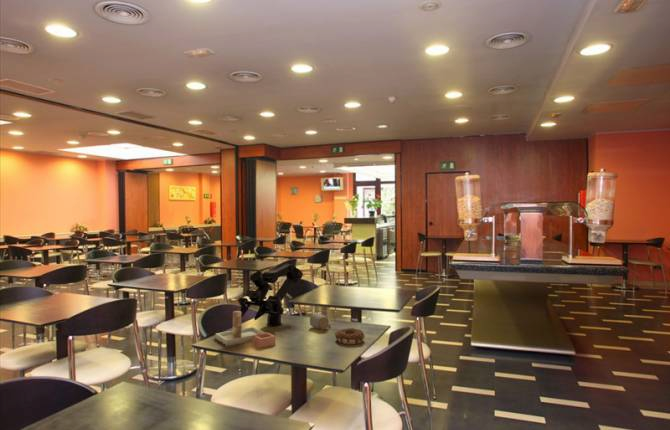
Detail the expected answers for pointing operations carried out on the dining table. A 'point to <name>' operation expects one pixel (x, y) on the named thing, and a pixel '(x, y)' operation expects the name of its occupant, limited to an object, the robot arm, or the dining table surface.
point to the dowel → (236, 324)
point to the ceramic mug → (319, 321)
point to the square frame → (264, 340)
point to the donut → (350, 336)
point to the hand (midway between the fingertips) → (247, 318)
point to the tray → (245, 337)
